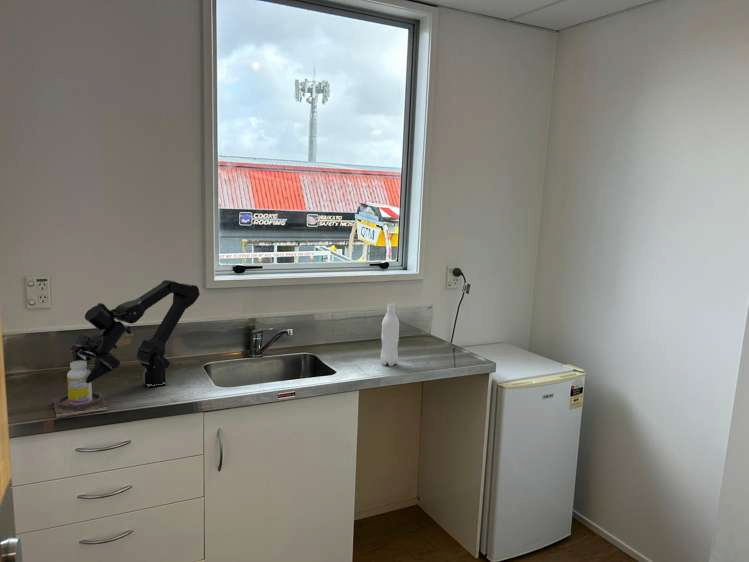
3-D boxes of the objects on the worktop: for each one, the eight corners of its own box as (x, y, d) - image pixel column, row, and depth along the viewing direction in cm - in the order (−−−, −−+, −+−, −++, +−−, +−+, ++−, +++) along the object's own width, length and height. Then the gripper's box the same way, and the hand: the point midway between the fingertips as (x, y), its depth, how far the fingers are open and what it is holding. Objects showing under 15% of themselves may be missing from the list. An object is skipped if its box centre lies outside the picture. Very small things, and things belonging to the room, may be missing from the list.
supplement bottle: (77, 397, 186) (75, 358, 184) (96, 399, 185) (95, 360, 183) (63, 405, 179) (61, 364, 177) (83, 406, 178) (82, 366, 176)
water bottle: (391, 367, 233) (393, 306, 230) (376, 364, 238) (378, 304, 234) (401, 364, 239) (403, 304, 235) (387, 360, 243) (389, 301, 240)
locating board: (101, 396, 192) (101, 388, 191) (107, 410, 180) (107, 402, 179) (52, 403, 184) (52, 395, 184) (56, 418, 172) (55, 409, 172)
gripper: (74, 319, 187) (41, 360, 180) (109, 328, 178) (76, 372, 170) (98, 338, 195) (67, 378, 187) (133, 347, 185) (102, 390, 178)
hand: (77, 379), depth 180 cm, fingers open, 9 cm apart
